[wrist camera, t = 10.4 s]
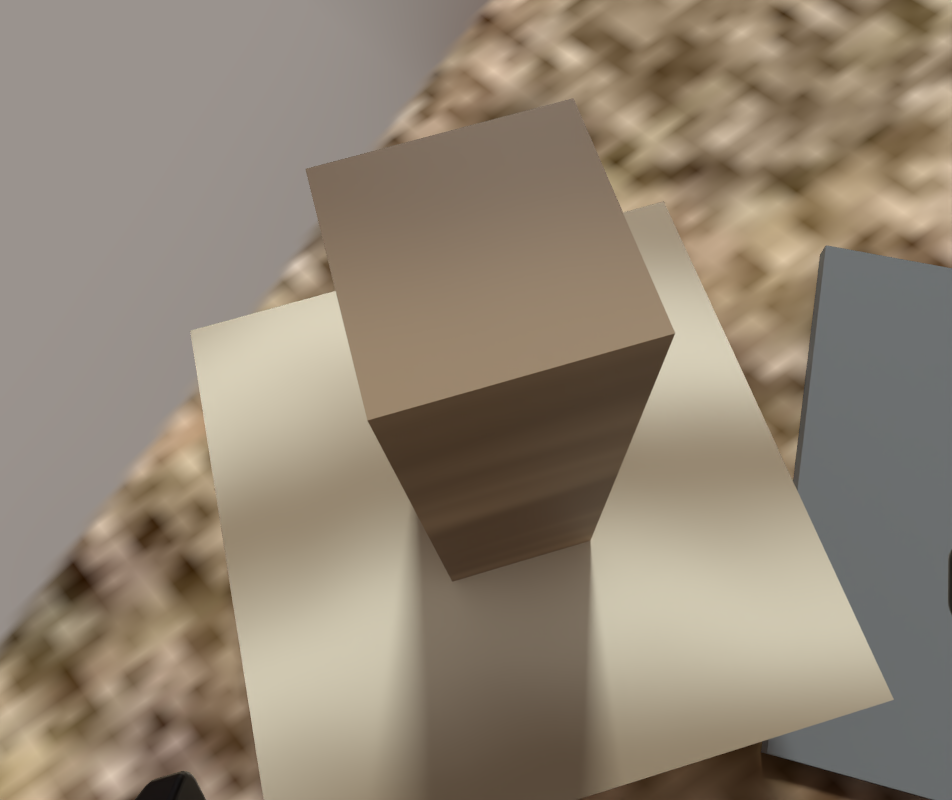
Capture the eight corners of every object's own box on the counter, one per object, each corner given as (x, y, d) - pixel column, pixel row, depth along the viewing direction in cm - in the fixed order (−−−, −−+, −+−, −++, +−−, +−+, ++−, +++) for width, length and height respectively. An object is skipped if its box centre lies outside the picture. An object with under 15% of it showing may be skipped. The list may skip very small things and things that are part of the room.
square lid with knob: (871, 700, 16) (1459, 681, 6) (293, 882, 15) (-136, 1206, 5) (656, 225, 20) (785, -234, 10) (205, 348, 19) (-111, -17, 10)
